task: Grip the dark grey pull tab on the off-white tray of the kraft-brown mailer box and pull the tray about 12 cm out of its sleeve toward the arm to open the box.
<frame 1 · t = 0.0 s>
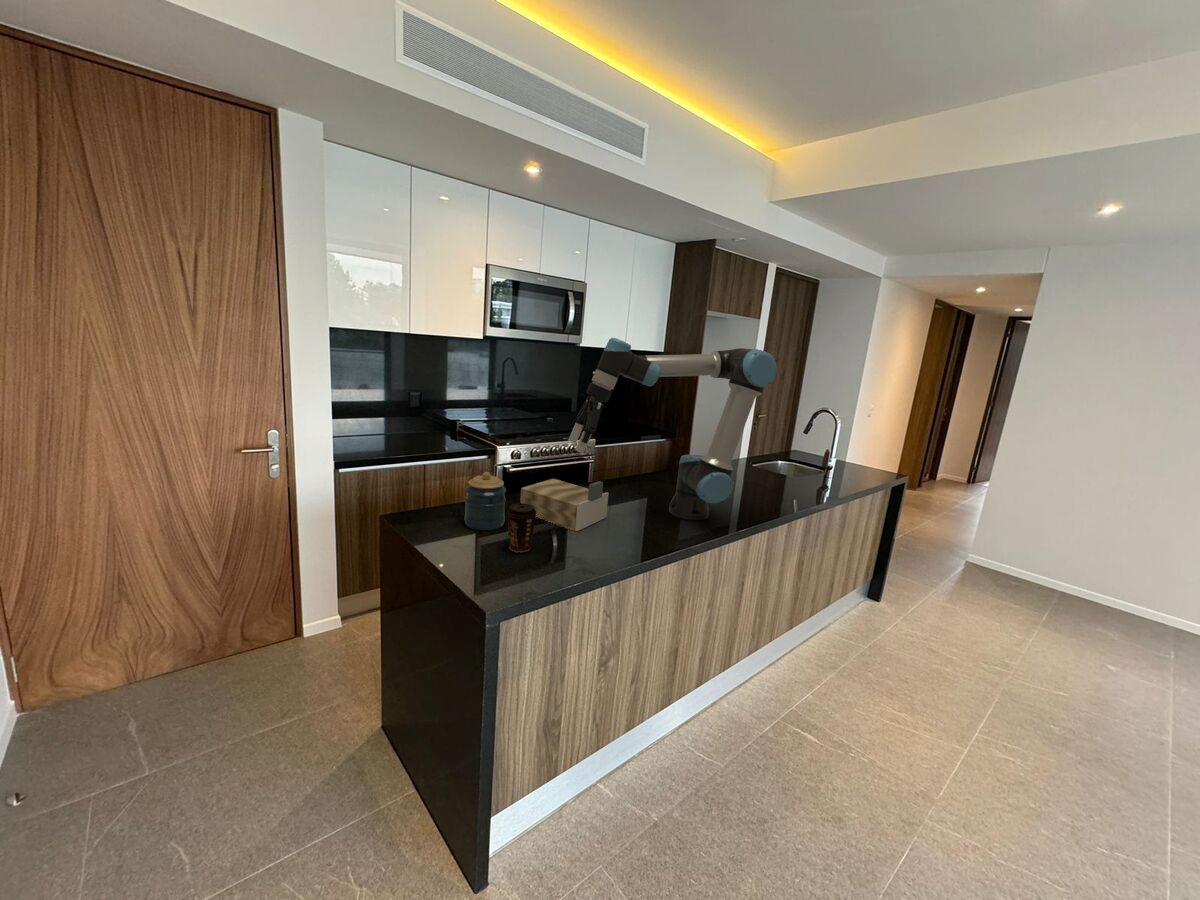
hand: (575, 446, 162), 28 cm above the countertop, tool tilted 20°, fingers open, 13 cm apart
canister: (484, 524, 165), on the countertop
mailer sleeve: (561, 514, 179), on the countertop
coffee cup: (520, 548, 149), on the countertop
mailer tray: (567, 495, 176), point 8 cm above the countertop, slide at 0.0 cm
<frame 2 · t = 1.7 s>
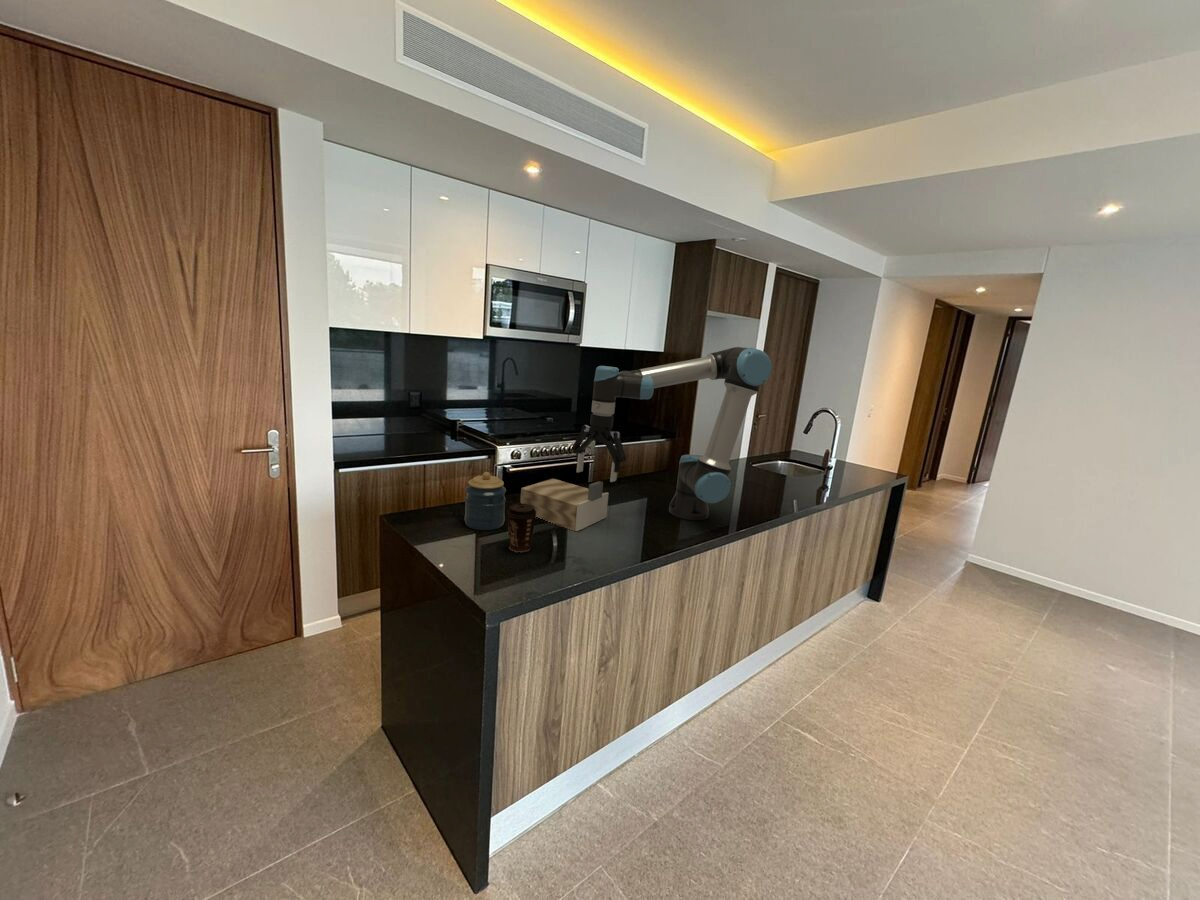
hand: (596, 476, 168), 17 cm above the countertop, tool pointing down, fingers open, 13 cm apart
nothing on the countertop moved.
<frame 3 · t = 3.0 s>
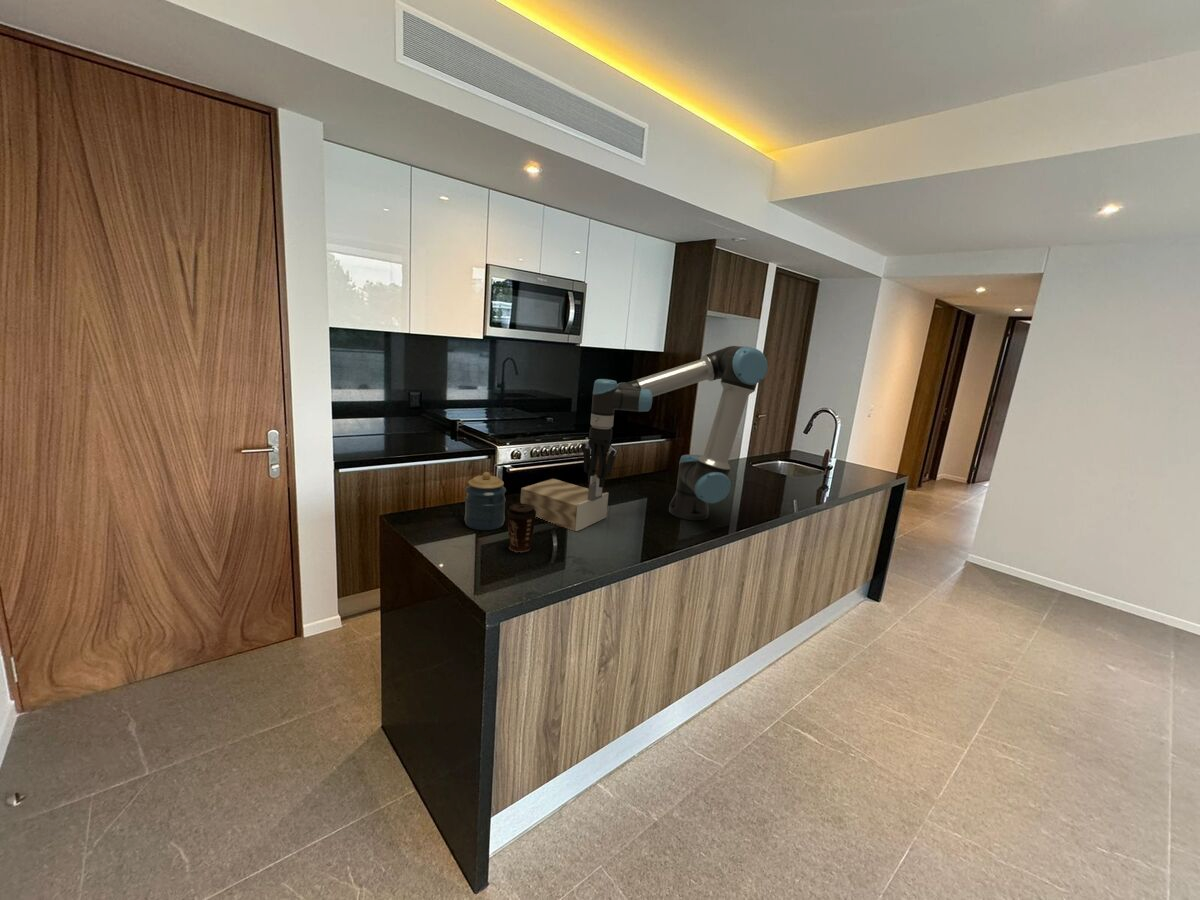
hand: (595, 494, 170), 11 cm above the countertop, tool pointing down, fingers closed on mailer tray, 2 cm apart
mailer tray: (567, 495, 176), point 8 cm above the countertop, slide at 0.0 cm, touching gripper
everything else where it was.
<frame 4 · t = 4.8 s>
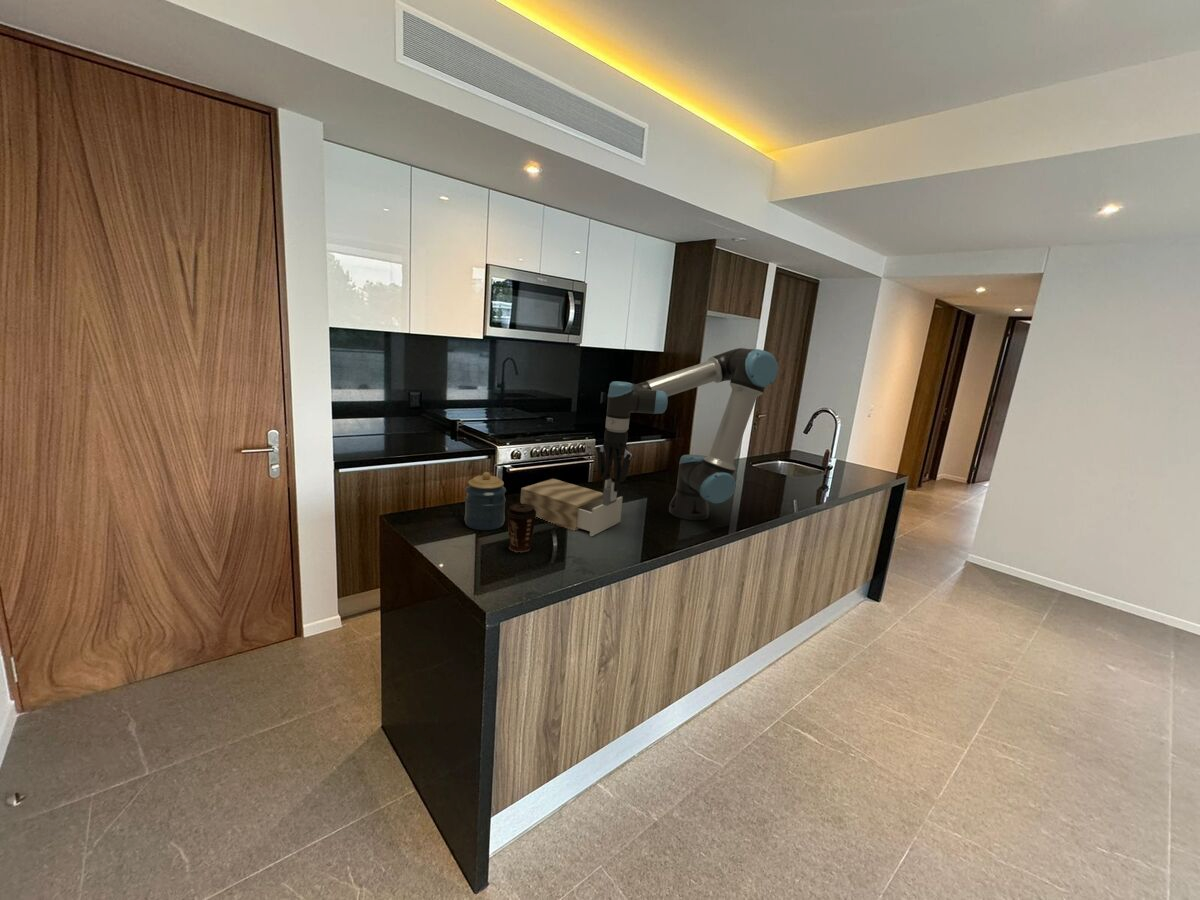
hand: (609, 499, 167), 11 cm above the countertop, tool pointing down, fingers closed on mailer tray, 2 cm apart
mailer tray: (580, 499, 173), point 8 cm above the countertop, slide at 5.9 cm, touching gripper
everything else where it was.
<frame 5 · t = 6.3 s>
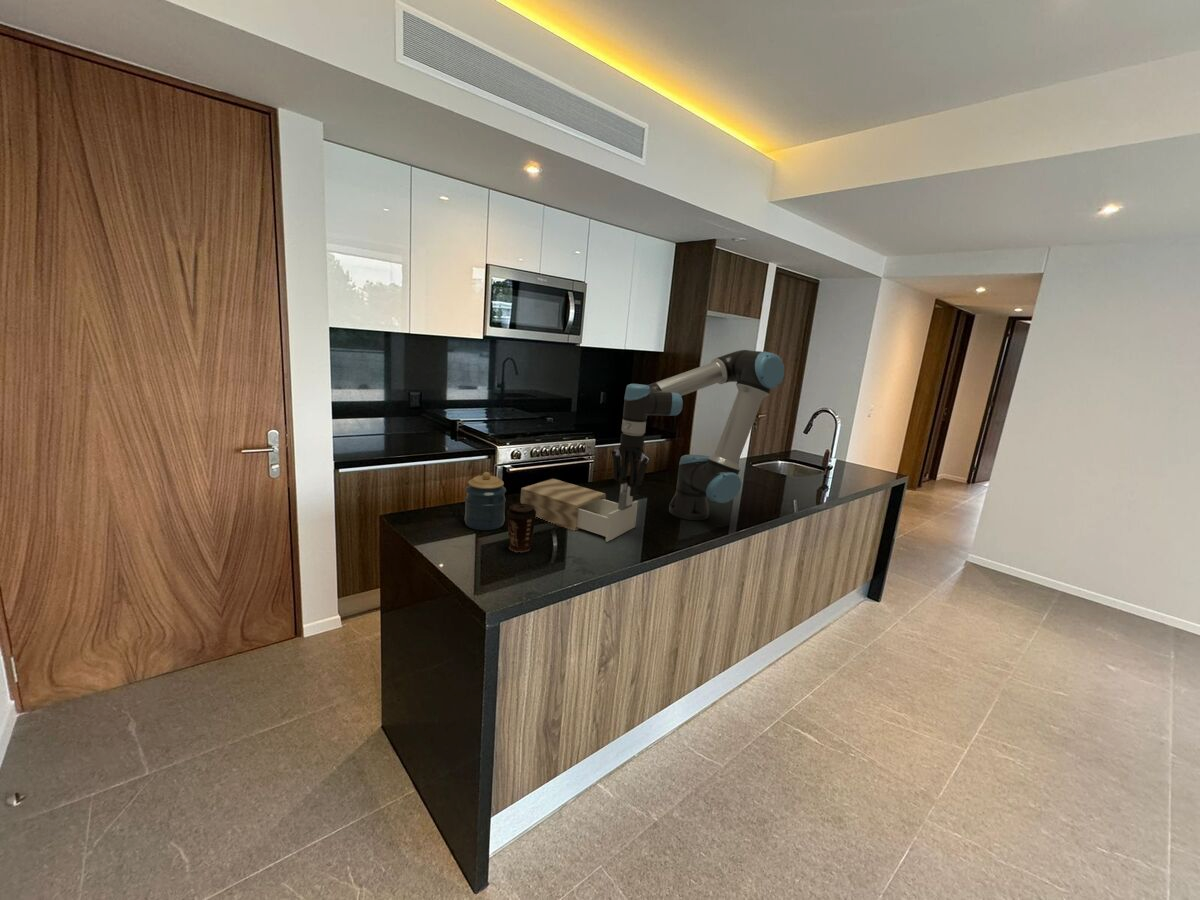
hand: (625, 503, 164), 11 cm above the countertop, tool pointing down, fingers closed on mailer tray, 2 cm apart
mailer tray: (595, 504, 170), point 8 cm above the countertop, slide at 11.9 cm, touching gripper
everything else where it was.
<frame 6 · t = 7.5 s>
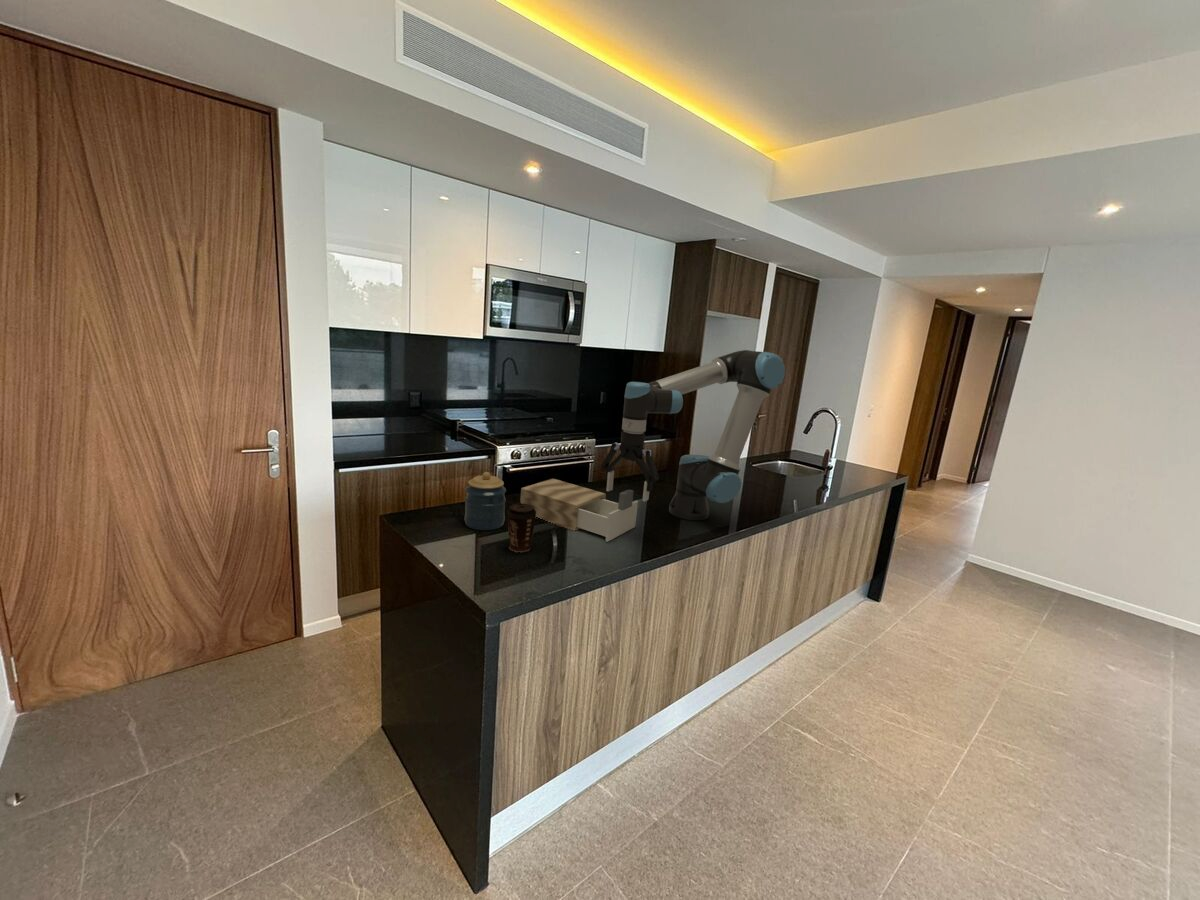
hand: (627, 495, 163), 14 cm above the countertop, tool pointing down, fingers open, 13 cm apart
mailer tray: (595, 504, 170), point 8 cm above the countertop, slide at 11.9 cm
everything else where it was.
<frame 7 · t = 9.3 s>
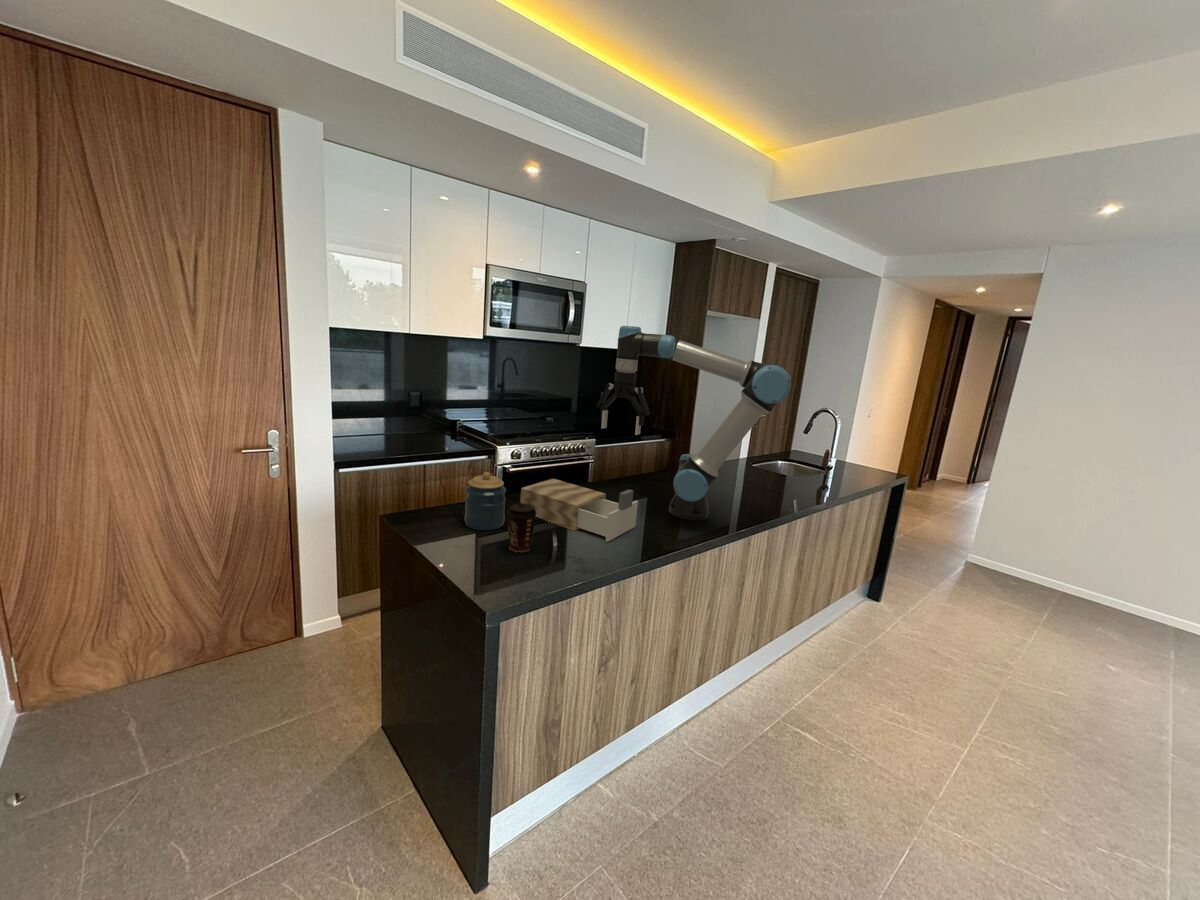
hand: (620, 431, 179), 31 cm above the countertop, tool pointing down, fingers open, 13 cm apart
nothing on the countertop moved.
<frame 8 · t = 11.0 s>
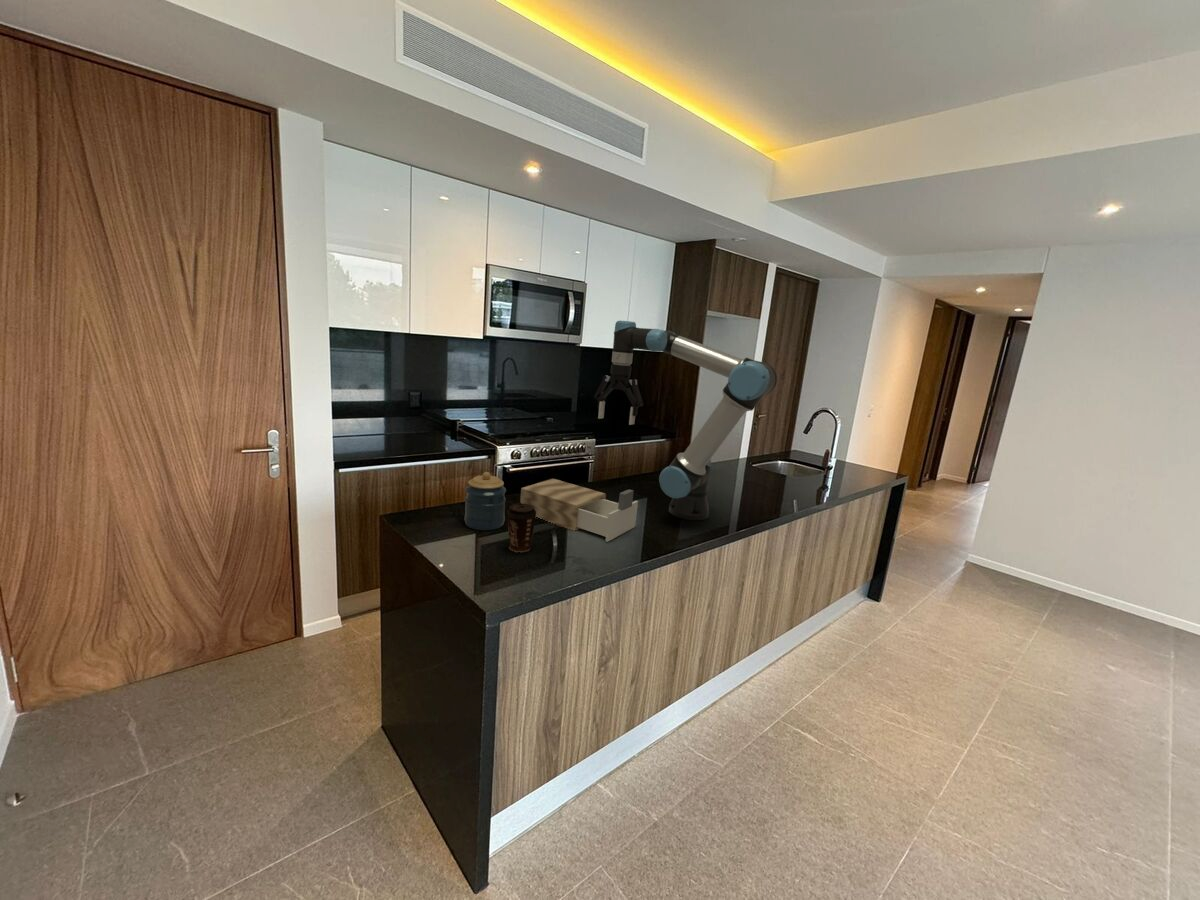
hand: (615, 421, 188), 33 cm above the countertop, tool pointing down, fingers open, 13 cm apart
nothing on the countertop moved.
at the end: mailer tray slide at 11.9 cm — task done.
